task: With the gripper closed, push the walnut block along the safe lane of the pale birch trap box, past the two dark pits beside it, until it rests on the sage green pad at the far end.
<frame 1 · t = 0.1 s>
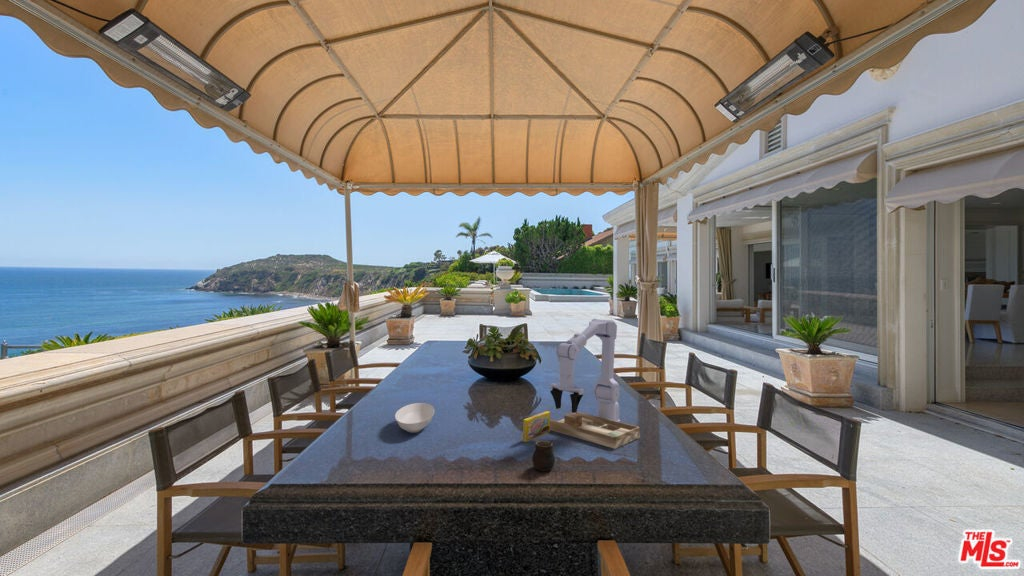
hand: (566, 410, 177), 10 cm above the table, tool pointing down, fingers open, 7 cm apart
candy box: (536, 437, 176), on the table
block: (573, 425, 183), point 2 cm above the table, touching trap box
trap box: (593, 433, 181), on the table
mate gourd: (543, 469, 145), on the table
bowl: (415, 428, 185), on the table
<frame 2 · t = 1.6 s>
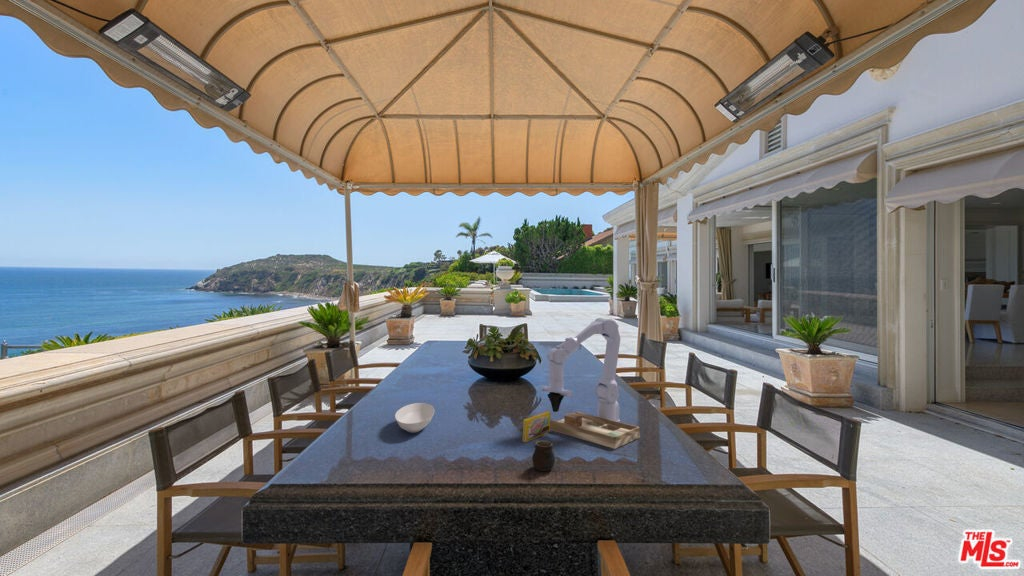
hand: (555, 411, 189), 6 cm above the table, tool pointing down, fingers closed
nothing on the table moved.
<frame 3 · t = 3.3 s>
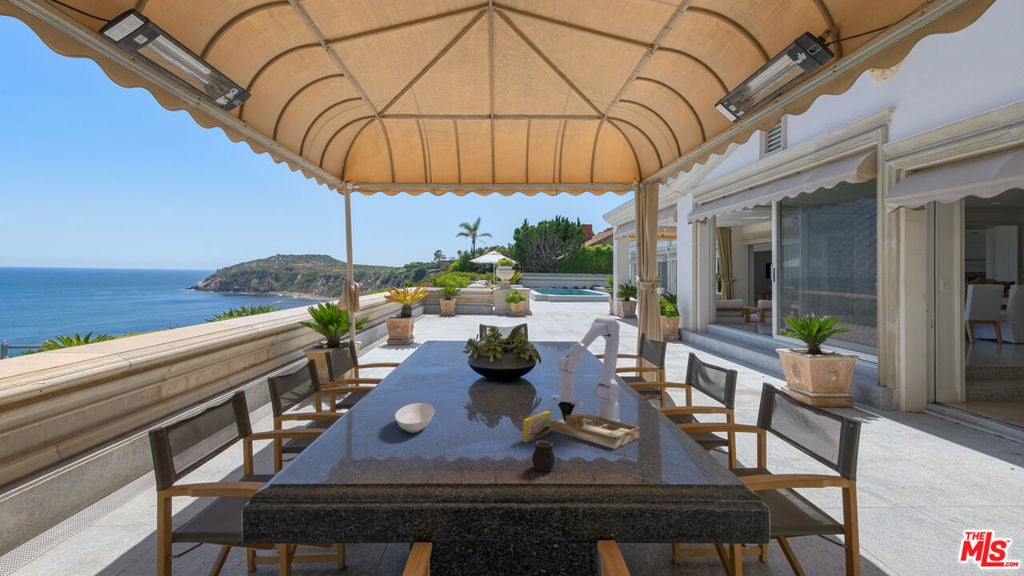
hand: (566, 421, 185), 4 cm above the table, tool pointing down, fingers closed
block: (574, 425, 183), point 3 cm above the table, touching gripper, trap box
everything else where it was.
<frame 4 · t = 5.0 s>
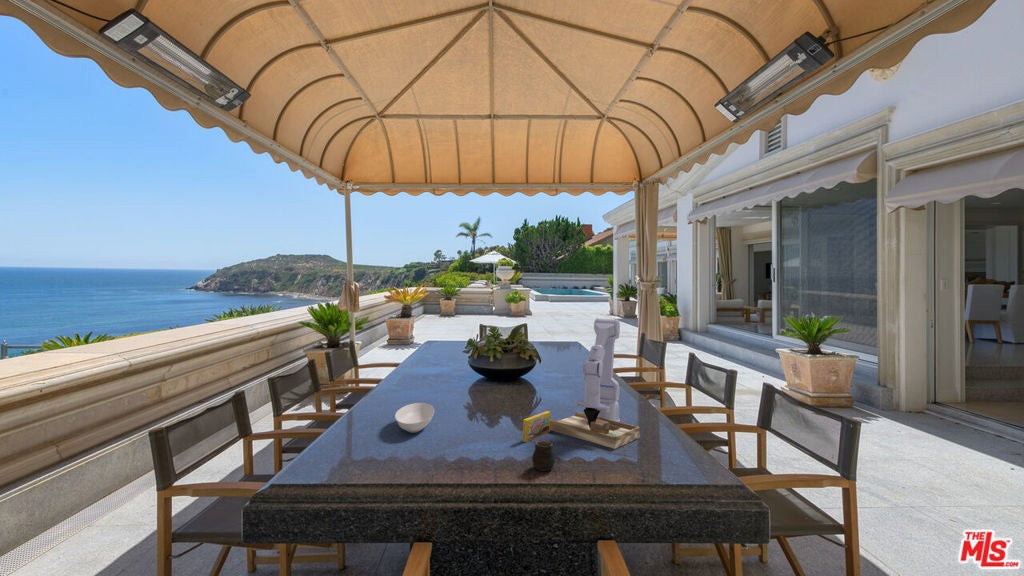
hand: (591, 427, 177), 4 cm above the table, tool pointing down, fingers closed
block: (599, 432, 174), point 3 cm above the table, touching gripper, trap box
everything else where it was.
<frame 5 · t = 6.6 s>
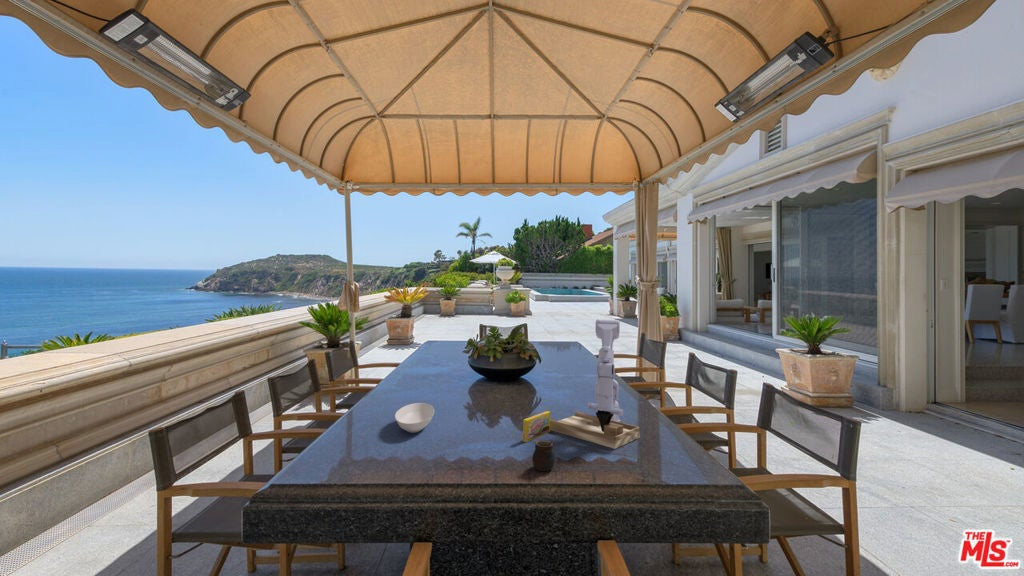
hand: (604, 431, 173), 4 cm above the table, tool pointing down, fingers closed
block: (613, 436, 170), point 3 cm above the table, touching gripper, trap box
everything else where it was.
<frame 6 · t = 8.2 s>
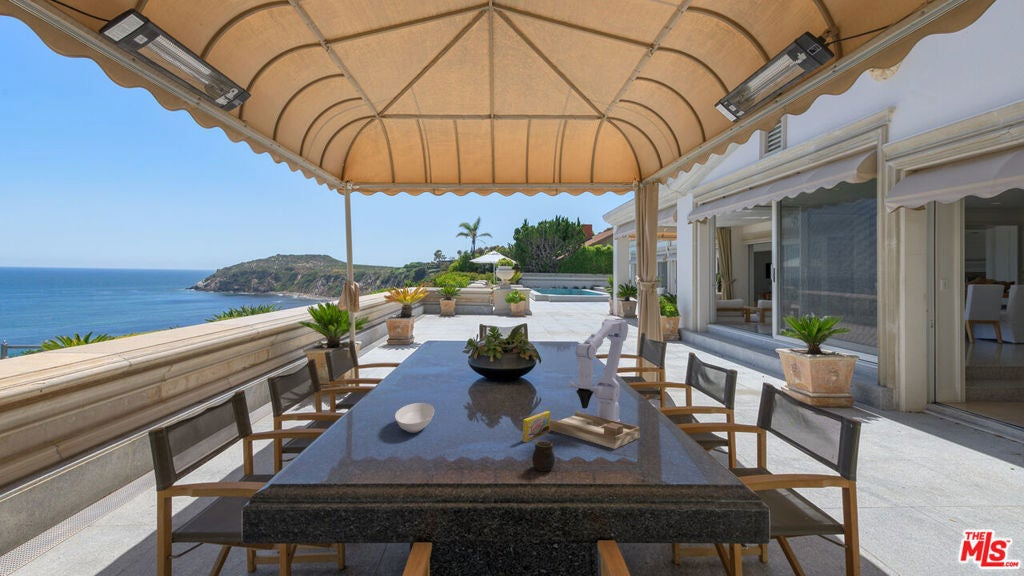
hand: (584, 407, 184), 9 cm above the table, tool pointing down, fingers closed
block: (613, 436, 170), point 3 cm above the table, touching trap box
everything else where it was.
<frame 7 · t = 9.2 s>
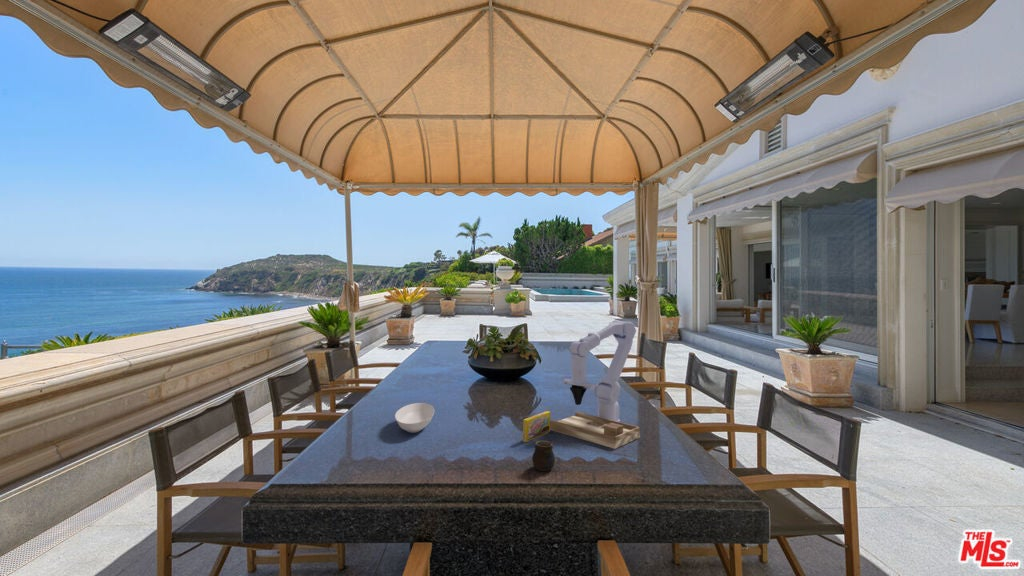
hand: (578, 404, 189), 9 cm above the table, tool pointing down, fingers closed
nothing on the table moved.
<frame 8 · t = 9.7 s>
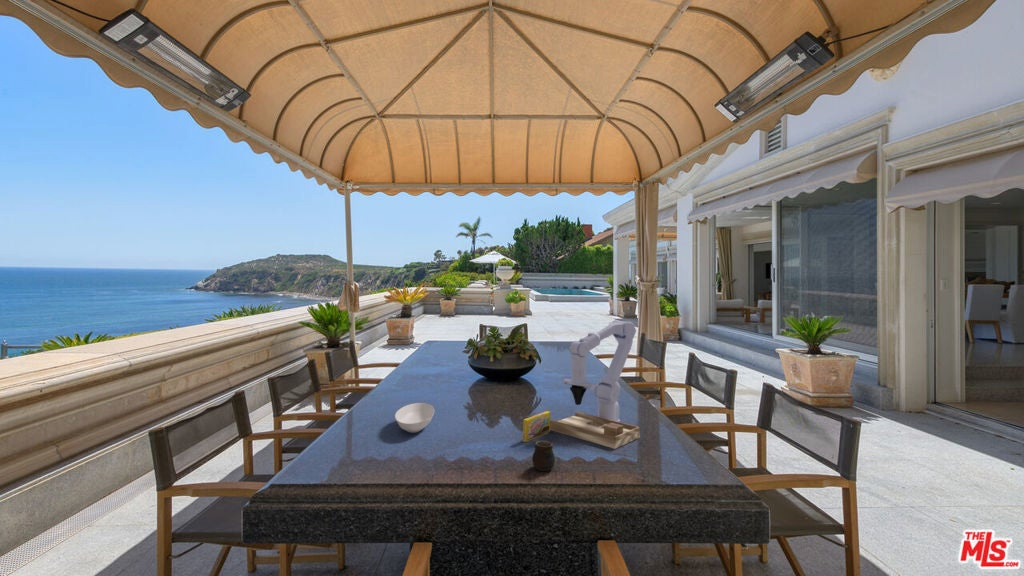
hand: (578, 404, 189), 9 cm above the table, tool pointing down, fingers closed
nothing on the table moved.
at the end: block 0.5 cm from the target spot, point 2.5 cm above the table; block tilted 0°; block moved 18.4 cm from its start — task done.
